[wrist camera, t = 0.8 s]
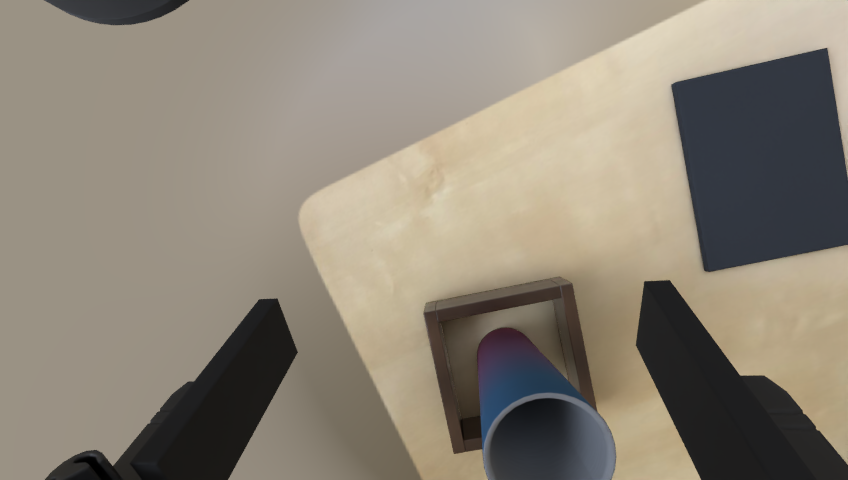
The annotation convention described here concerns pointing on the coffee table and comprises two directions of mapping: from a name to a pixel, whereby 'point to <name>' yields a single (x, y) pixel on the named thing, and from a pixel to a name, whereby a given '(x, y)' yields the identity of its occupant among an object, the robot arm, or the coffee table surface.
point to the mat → (764, 160)
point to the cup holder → (556, 289)
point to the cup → (536, 417)
